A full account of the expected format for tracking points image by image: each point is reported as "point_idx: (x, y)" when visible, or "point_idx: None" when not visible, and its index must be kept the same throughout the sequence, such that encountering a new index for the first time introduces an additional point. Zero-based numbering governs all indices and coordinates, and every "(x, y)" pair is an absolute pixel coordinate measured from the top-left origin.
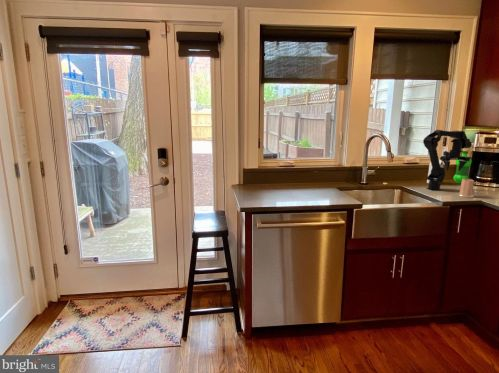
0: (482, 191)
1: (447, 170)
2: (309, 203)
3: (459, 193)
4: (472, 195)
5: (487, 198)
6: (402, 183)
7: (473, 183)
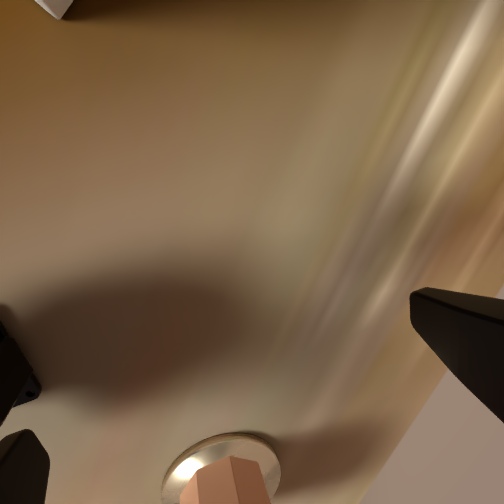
0: (445, 269)
1: (46, 467)
2: None
3: (188, 475)
4: (268, 488)
5: (345, 476)
6: None
7: None
